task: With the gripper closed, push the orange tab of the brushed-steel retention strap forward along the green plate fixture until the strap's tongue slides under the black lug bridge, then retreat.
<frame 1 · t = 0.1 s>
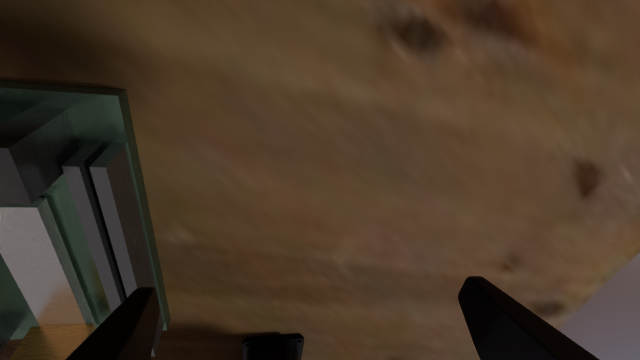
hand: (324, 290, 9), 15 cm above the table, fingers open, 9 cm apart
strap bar: (29, 305, 21), point 4 cm above the table, slide at 0.0 cm
green plate fixture: (50, 230, 23), on the table
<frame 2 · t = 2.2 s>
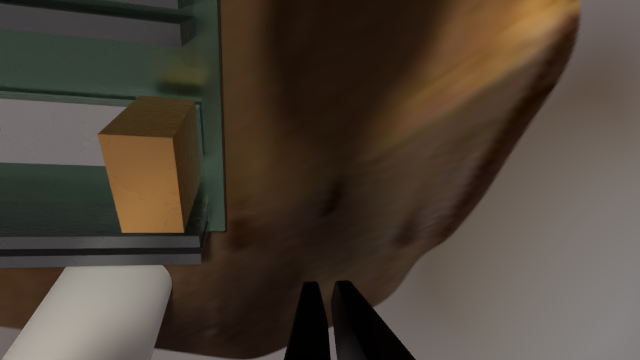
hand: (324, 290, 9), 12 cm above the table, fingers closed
cylindrical container: (121, 280, 24), on the table
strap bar: (16, 150, 13), point 4 cm above the table, slide at 0.0 cm
green plate fixture: (1, 111, 16), on the table
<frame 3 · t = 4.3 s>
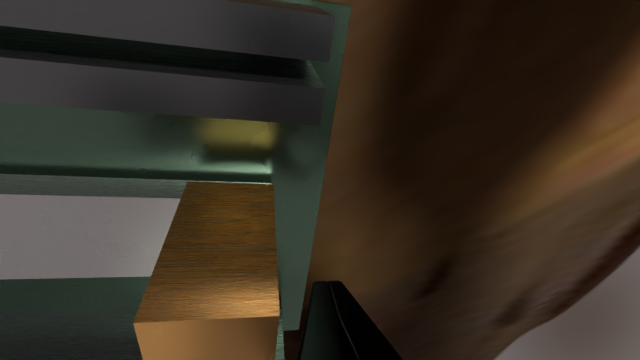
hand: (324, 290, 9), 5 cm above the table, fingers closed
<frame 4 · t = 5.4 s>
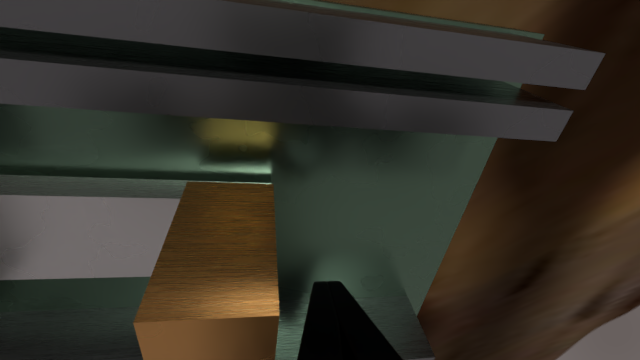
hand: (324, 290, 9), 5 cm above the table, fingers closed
green plate fixture: (184, 195, 12), on the table
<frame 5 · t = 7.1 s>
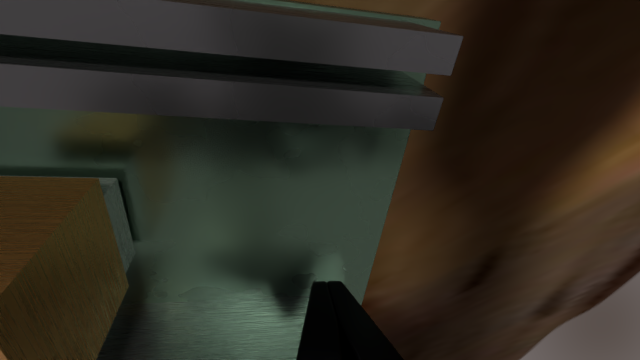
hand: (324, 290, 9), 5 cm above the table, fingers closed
green plate fixture: (96, 193, 12), on the table
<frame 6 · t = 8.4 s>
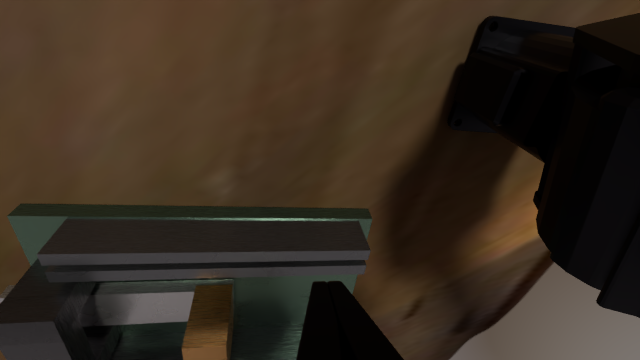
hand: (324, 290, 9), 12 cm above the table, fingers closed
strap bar: (117, 332, 20), point 4 cm above the table, slide at 8.5 cm
green plate fixture: (215, 278, 25), on the table
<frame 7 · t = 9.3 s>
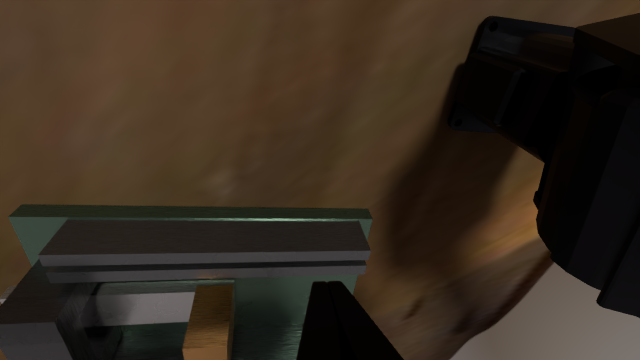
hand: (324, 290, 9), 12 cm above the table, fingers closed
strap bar: (118, 333, 20), point 4 cm above the table, slide at 8.5 cm
green plate fixture: (216, 279, 25), on the table
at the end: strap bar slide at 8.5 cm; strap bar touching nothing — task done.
